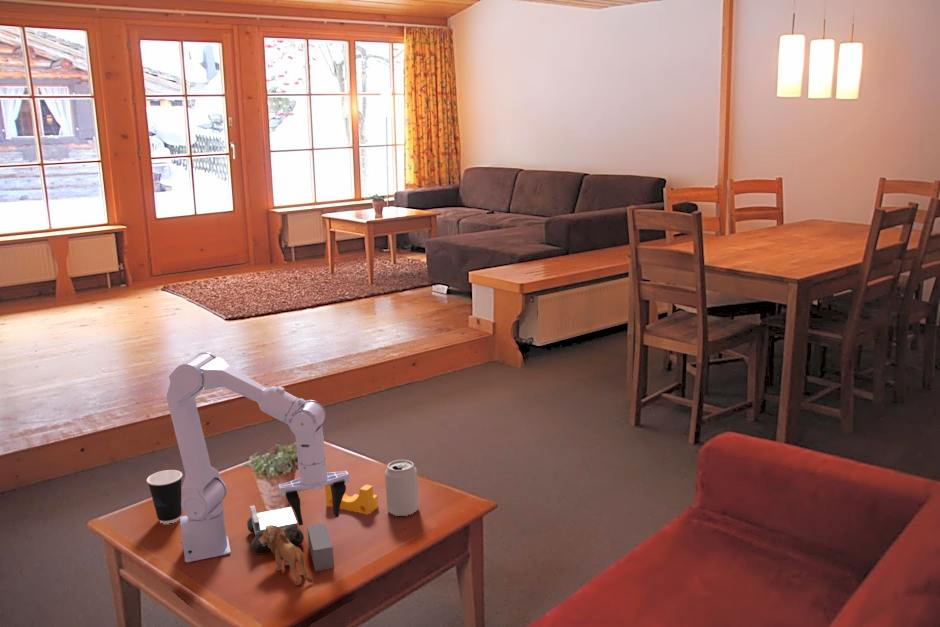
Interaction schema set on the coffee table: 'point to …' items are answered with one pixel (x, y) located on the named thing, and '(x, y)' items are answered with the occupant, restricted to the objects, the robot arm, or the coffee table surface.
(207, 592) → the coffee table surface
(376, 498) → the pipe clamp
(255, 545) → the trolley
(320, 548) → the block
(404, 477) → the can
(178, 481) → the dixie cup
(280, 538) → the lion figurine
